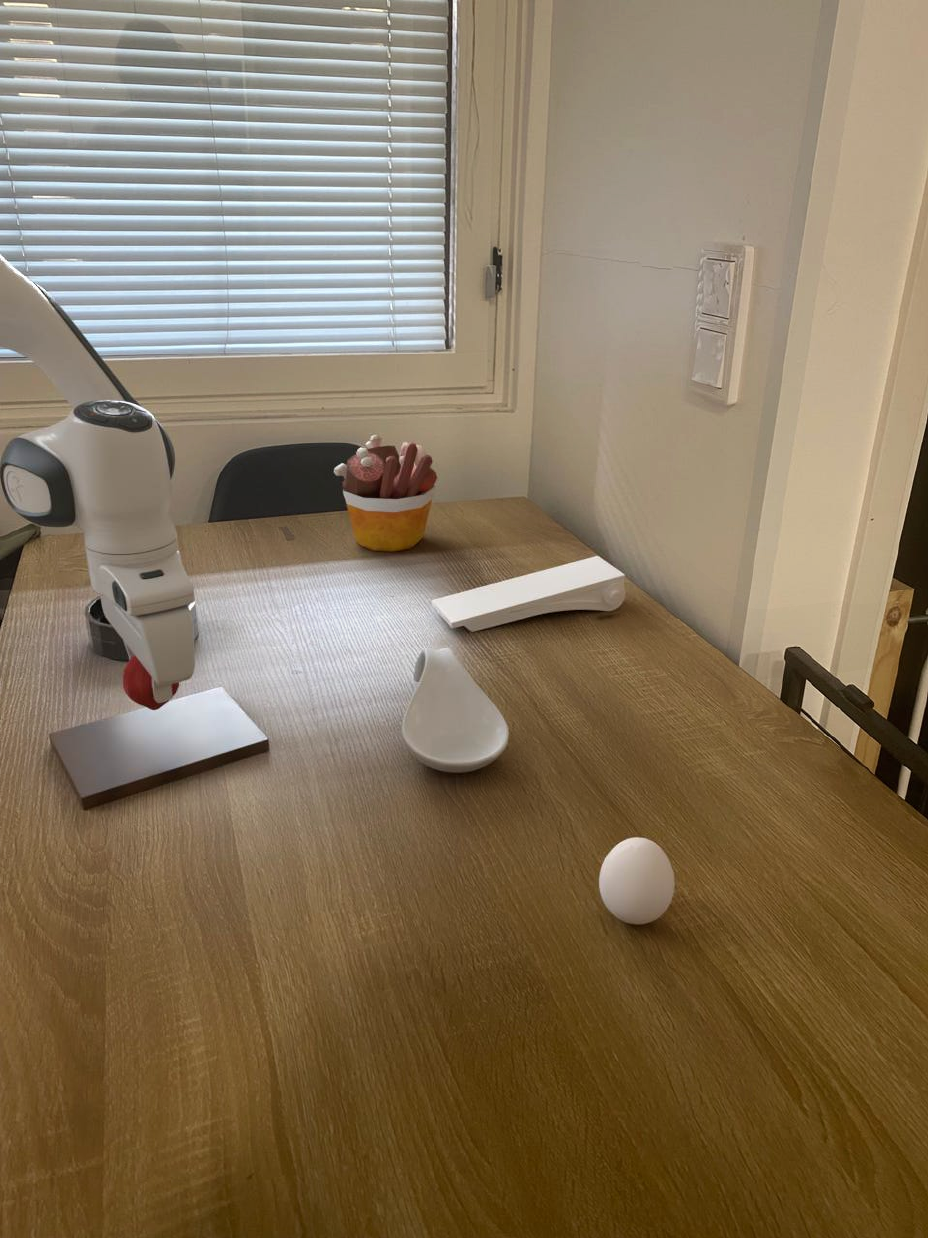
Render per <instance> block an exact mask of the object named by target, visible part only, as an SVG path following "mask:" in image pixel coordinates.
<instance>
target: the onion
mask: <svg viewBox="0 0 928 1238" xmlns="http://www.w3.org/2000/svg"><path fill="white" fill-rule="evenodd" d="M151 683H152V677H151V675H150V674H149V673H148V672H147V670H146V669H145V668H144V666H143V665H142V664H141V662H140V661H139V660H138V659H137V657H136V656H135V655H134V656H133V657H132V658H131V659H130V660H128V661H127V663H126V665H125V666H124V669H123V672H122V687H123V690H124V693H125V694H126V695H127V697H128V698H129V699H130V700H131V701H132V702H134V703H136V704H137V705H138V706H139V705H140V706H142V707H144V708H145V707H147V708H149V709H151V710H157V709H159V708H161V707H162V706H163V705H165V704H166V703H167V702H168V701H166V702H162V703H157V702H156V701H155V699H154V698H153V696H152V695H151V688H150V684H151ZM171 687H172V695H173V697H174V696H176V694H177V692H178V690H179V687H180V682H178V683H175V684H172V685H171Z"/></svg>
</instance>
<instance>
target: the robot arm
mask: <svg viewBox="0 0 928 1238" xmlns="http://www.w3.org/2000/svg"><path fill="white" fill-rule="evenodd" d="M0 348H4V349H6V350H10V351H12V352H14V353H17V354H19V355H21V356H23V357H25V358H27V359H28V360H29V361H31V362H33V363H34V364H35V365H37V366H38V367H39V368H40V369H41V370H42V371H43V372H44V374H45V375H46V377H48V379H49V380H50V382H51V383H52V384H53V385H54V386H55V387H56V389H57V390H58V391H59V393H60V394H61V395H62V396H63V398H64V399H65V400H66V401H67V402H68V404H69V405H70V406H71V407H72V410H70V412H69V413H68V415H67V417H66V418H64V419H62V420H60V421H58V422H56V423H54V424H52V425H49V426H46V427H42V428H40V429H37V430H32V431H29V432H27V433H24V434H21V435H19V436H17V437H14V438H12V439H10V440H9V441H8V443H7V444H6V446H4V447H5V448H4V449H3V451H2V454H1V458H0V484H1V489H2V493H3V495H4V498H5V499H6V502H7V503H8V505H9V506H10V507H11V509H12V510H13V511H14V512H15V513H16V514H18V515H19V516H20V517H21V518H23V519H25V520H27V521H28V522H31V523H32V524H35V525H38V526H40V527H45V528H66V527H70V526H72V527H77V528H79V529H80V530H81V531H82V534H83V545H84V550H85V556H86V562H87V570H88V576H89V581H90V582H89V583H90V587H91V589H92V590H93V591H94V592H95V593H97V594H99V596H101V603H102V608H103V612H104V614H105V617H106V618H107V620H108V621H109V622H110V624H111V625H112V626H113V627H114V629H115V630H116V631H117V633H118V634H119V635H120V637H121V638H122V639H123V641H124V644H125V647H126V650H127V653H128V655H129V660H130V659H131V658H132V657H133V656H134V655H135V656H136V657H137V659H138V660H139V661H140V662H141V664H142V665H143V666H144V668H145V669H146V670H147V672H148V673H149V674H150V675H151V677H152V683H151V684H150V688H151V695H152V696H153V698H154V699H155V701H156V702H157V703H162V702H166V701H171V700H173V698H174V696H173V695H172V687H171V685H172V684H175V683H178V682H179V683H182V682H185V681H188V680H190V679H192V677H193V675H194V672H195V670H196V669H195V668H196V655H195V654H196V653H195V652H196V651H195V640H194V633H193V622H192V616H191V612H190V609H189V606H188V604H192V603H194V602H195V603H196V594H195V588H194V584H193V583H192V581H191V579H190V577H189V575H188V572H187V571H186V569H185V567H184V565H183V562H182V561H183V560H182V554H181V552H180V547H179V541H178V540H179V539H178V532H177V529H176V526H175V524H174V522H173V519H172V516H171V505H172V500H173V489H172V478H173V475H174V472H175V466H176V453H175V448H174V443H173V442H172V439H171V437H170V436H169V434H168V432H167V431H166V428H164V427H163V426H162V424H161V423H160V422H159V420H157V419H156V418H155V417H154V415H153V414H152V413H151V412H150V411H149V410H148V409H145V407H144V406H142V405H141V403H140V402H138V401H137V400H136V398H134V397H133V396H132V394H131V393H129V391H128V390H127V389H126V387H125V386H124V385H123V383H122V382H121V381H120V380H119V379H118V377H117V376H116V375H115V373H114V372H113V370H112V369H111V368H110V367H109V365H108V364H107V363H106V362H105V361H104V359H103V358H102V356H101V355H100V354H99V353H98V352H97V350H96V349H95V347H94V346H93V345H92V344H91V342H90V341H89V340H88V339H87V338H86V336H85V334H83V333H82V331H81V330H80V329H79V327H78V326H77V325H76V323H75V322H74V321H73V320H72V318H71V317H70V316H69V314H68V313H67V312H66V311H65V310H64V308H63V307H62V306H61V305H60V304H59V302H58V301H56V299H55V298H54V297H53V296H52V295H51V294H50V293H49V292H48V291H47V290H46V289H44V288H43V287H42V286H40V285H39V284H38V283H35V282H34V281H33V280H31V279H29V278H27V277H26V276H25V275H24V274H22V273H21V272H20V271H19V270H17V269H16V268H15V267H14V266H13V265H12V264H10V263H9V261H7V260H6V259H5V258H4V256H2V255H1V254H0ZM129 660H128V661H129Z"/></svg>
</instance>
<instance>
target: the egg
mask: <svg viewBox="0 0 928 1238" xmlns="http://www.w3.org/2000/svg"><path fill="white" fill-rule="evenodd" d="M598 877H599V878H598V881H599V882H598V887H599V893H600V897H601V899H602V903H603V904H604V905H605V907H606V909H607V910H608V911H609V912H610V913H611V914H612V915H613V916H614V917H615V918H616V919H618V920H620V921H622V922H623V923H626V924H630V925H635V926H638V925H646V924H650V923H652V922H654V921H656V920H658V919H659V918H660V917H661V916H663V915H664V913H666V911H667V910H668V909H669V907H670V905H671V904H672V901H673V897H674V893H675V873H674V869H673V867H672V863H671V861H670V859H669V857H668V856H667V854H666V853H665V851H664V850H663V848H662V847H660V846H659V845H658V844H657V843H656V842H654V841H653V840H650V839H648V838H647V837H646V838H645V837H639V836H638V837H637V836H635V837H629V838H626V839H625V840H622V841H621V842H619V843H618V844H616V845H615V846H614V847H613V848H612V849H611V850H610V851H609V853H608V854H607V855H606V856H605V858H604V860H603V863H602V865H601V867H600V871H599V876H598Z"/></svg>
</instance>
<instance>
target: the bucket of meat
mask: <svg viewBox="0 0 928 1238" xmlns="http://www.w3.org/2000/svg"><path fill="white" fill-rule="evenodd" d="M382 440H383V437H382V436H381V435H379V434H374V435H371V436H370V439H369V441H367V442H366V443H365V447H359V448H358V449H357V451H356V453H355V454H353V455H352V456H350V457H349V458H348V459H347V461H346V464H345V463H343V462H342V463H340V464H338V465H337V466H335V467H334V468H333V474H334V475H335V476H336V477H343V479H344V480H343V481H341V483H342V484H341V486H342V494H343V497H344V499H345V504H346V509H347V511H348V515H349V519H350V523H351V528H352V531H353V535H354V539H355V541H356V542H357V544H359V546H361V547H363V548H367V549H369V550H370V551H375V552H399V551H403V550H409V549H412V548H413V547H414V546H415V545H416V544H418V543H419V542H420V541H421V540H422V539H423V537H424V535H425V531H426V526H427V523H428V518H429V515H430V510H431V507H432V506H431V505H432V501H433V498H434V494H435V492H436V485H435V484H436V482H437V480H438V475H437V472H436V471H435V470H434V469H433V468H432V467H431V466H432V465H433V463H434V461H433V458H432V456H431V454H430V455H429V454H427V452H426V449H425V448H424V447H423V446H422V445H421V444H417V443H415V442H408V441H404V442H402V445H401V448H400V453H399V452H398V450H397V448H396V446H395V445H382V446H381V443H382Z"/></svg>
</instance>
